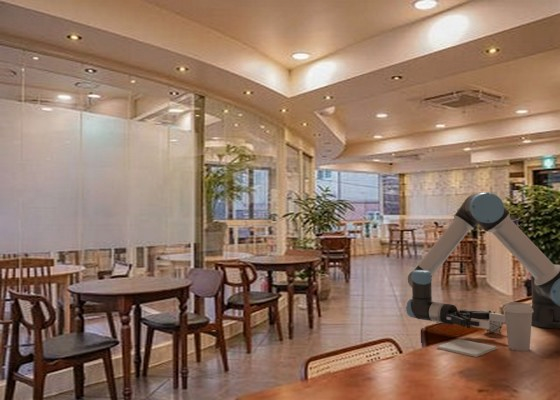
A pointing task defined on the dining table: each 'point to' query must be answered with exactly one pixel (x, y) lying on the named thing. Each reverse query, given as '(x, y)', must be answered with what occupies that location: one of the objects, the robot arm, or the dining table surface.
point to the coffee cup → (518, 325)
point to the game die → (494, 326)
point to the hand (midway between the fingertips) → (498, 322)
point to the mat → (467, 347)
